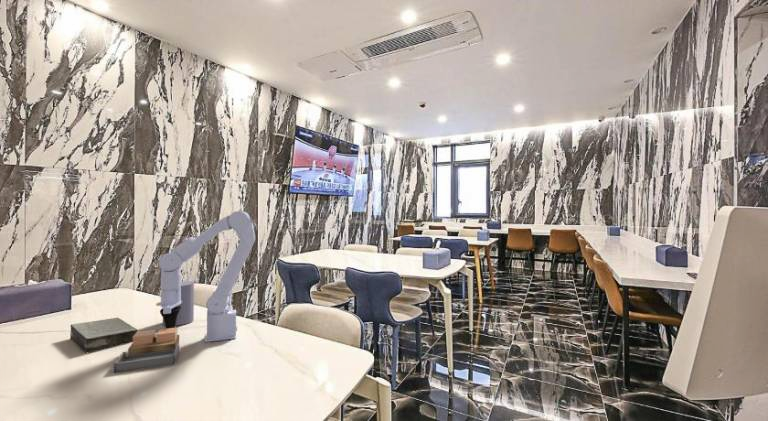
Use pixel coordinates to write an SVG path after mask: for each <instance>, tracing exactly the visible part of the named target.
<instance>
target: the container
mask: <svg viewBox="0 0 768 421" xmlns="http://www.w3.org/2000/svg"><path fill="white" fill-rule="evenodd" d="M194 300H195V282H194V281H192V280H181V301H182V302H181V304H180V305H178V306H181V309H180V311H179V313H178V316H177V320H176V325H175V327H179V326H183V325H187V324H190V323H191V322H193V321H194V319H195V318H194V315H195V314H194V310H195V308H194V307H195V305H194V304H195V303H194V302H195V301H194ZM162 325H164V326H165V322H164V319H163V318H162Z"/></svg>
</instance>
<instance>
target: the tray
mask: <svg viewBox="0 0 768 421" xmlns="http://www.w3.org/2000/svg"><path fill="white" fill-rule="evenodd" d="M126 353H127V351H123V352H122V353H121V354H120V355H119V357H118V358H116V360H115V362H114V363H113V373H114V374H116V373H122V372H130V371H131V372H132V371H139V370H143V369H150V368H152V369H153V368H159V367H165V366H174V365H176V362H177V360H178V357H179V355H180V344H179V345H177V347H176V349H175V350H167V351H159V352H151V353H143V354H135V355H128V354H127V355H126Z"/></svg>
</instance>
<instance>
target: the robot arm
mask: <svg viewBox="0 0 768 421" xmlns="http://www.w3.org/2000/svg"><path fill="white" fill-rule="evenodd" d="M230 230H233V231H234V232H235V233H236V235H237V238H238V239H239V243H238V244H237V247H236V249H235V250H234V253H233V255H232V256H231V258H230V261H229V263H228V265H227V267H226V268H225V271H224V274H223V275H222V277H221V280H219V283H218V285H217V287H216V289H215V291H213V292H212V294H211V296H210V297H208V299H207V301H206V304H205V305H206V309H207V310H206V333H205V337H204V342H205V343H208V342H209V343H210V342H216V341H217V342H218V341H225V340H232V339H236V338H237V331H238V325H237V309H231V306H229V303H230V300H231V293H232V290H233V289H234V288H233V287H234V286H235V283H236V282H237V279H238V277H239V275H240V273H241V271H242V270H243V267H244V265H245V263H246V261H247V258H248V257H249V254H250V252H251V250H252V248H253V246H254V243H255V242H256V233H255V228H254V221H253V220H252V217H251V216H250V215H249V213H248V212H246V211H243V210H236V211H233V212H232V213H231V214H230V215H226V216H225V217H222V218H221V219H219V220H218V221H217V222H215V223H214V224H212V225H211V226H210V227H209V228H207V229H206V230H205V231H203V232H201V233H200V234H199V235H198V236H196V237H194V236H193V237H192V236H189V237H188V238H187V237H185V238H184V239H183V240H182V242H181V243H179V245H177V246H176V247H172V248H170V249H169V251H170V252H169V253H164V254H163V255H162V256H161V257H160V258H159V260H158V267H159V268H160V269H161V272H160V273H161V276H160V302H158V301H157V303H156V304H155V305H156V306H157V307H158V306H159V307H161V309H160V310H159V313H160V315H161V317H162V320H163V319H164V322H165V325H164V326H165V329H167V328H176V326H175V325H176V320H177V316H178V313H179V311H180V309H181V306H178V305H180V304H181V302H182V301H181V281H182V272H181V271H182V270H181V269H182V265H183V264H184V263H187V262H188V261H189V260H190V259H192V258H193V257H194V256H196V255H197V254H199V253H200V252H201V251H202V250H203V247H204V246H203V245H205V243H208V241H210V240H212V239H213V238H215V237H216V236H217V235H219V234H220V233H222V232H224V231H230Z"/></svg>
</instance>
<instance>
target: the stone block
mask: <svg viewBox="0 0 768 421" xmlns="http://www.w3.org/2000/svg"><path fill="white" fill-rule="evenodd" d="M138 331H139V330H138V329H137V328H136V327H134V326H132V325H130V324H129V323H127V322H125V320H123V319H121V318H119V317H113V318H106V319H99V320H98V319H97V320H93V321H85V322H78V323H73V324H70V334H69V336H70V340H71V341H72V342H73V343H74V344H76V345H77V346H78V347H80V350H81V351H83V352H84V353H86V354H87V352H88V353H92V351H93V352H96V350H97V351H101V350H105V349H109V348H111V347H112V346H113V347H116V345H117V346H120V344H121V345H124V343H125V344H128V343H133V336H134V335H135V334H136V332H138ZM108 347H109V348H108ZM104 348H105V349H104ZM100 349H101V350H100Z"/></svg>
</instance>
